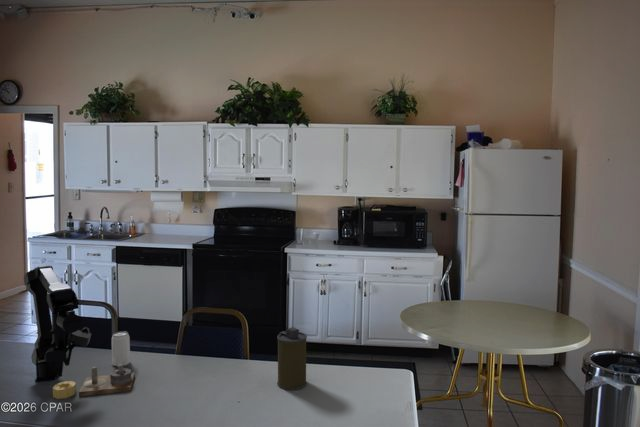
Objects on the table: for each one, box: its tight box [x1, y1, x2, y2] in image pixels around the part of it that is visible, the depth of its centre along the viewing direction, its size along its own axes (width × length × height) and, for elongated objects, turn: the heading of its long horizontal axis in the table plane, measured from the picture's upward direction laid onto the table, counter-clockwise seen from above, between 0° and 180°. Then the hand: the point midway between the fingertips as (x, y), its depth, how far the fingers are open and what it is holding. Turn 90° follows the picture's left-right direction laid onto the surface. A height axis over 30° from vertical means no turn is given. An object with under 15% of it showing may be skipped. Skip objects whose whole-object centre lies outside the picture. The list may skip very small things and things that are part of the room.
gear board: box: [78, 364, 136, 397], centre depth 164 cm, size 16×12×7 cm
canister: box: [276, 326, 308, 391], centre depth 166 cm, size 11×10×20 cm
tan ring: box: [52, 380, 77, 400], centre depth 158 cm, size 6×6×3 cm
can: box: [111, 330, 131, 367], centre depth 183 cm, size 6×6×12 cm
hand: (63, 370), depth 157 cm, fingers open, 9 cm apart
